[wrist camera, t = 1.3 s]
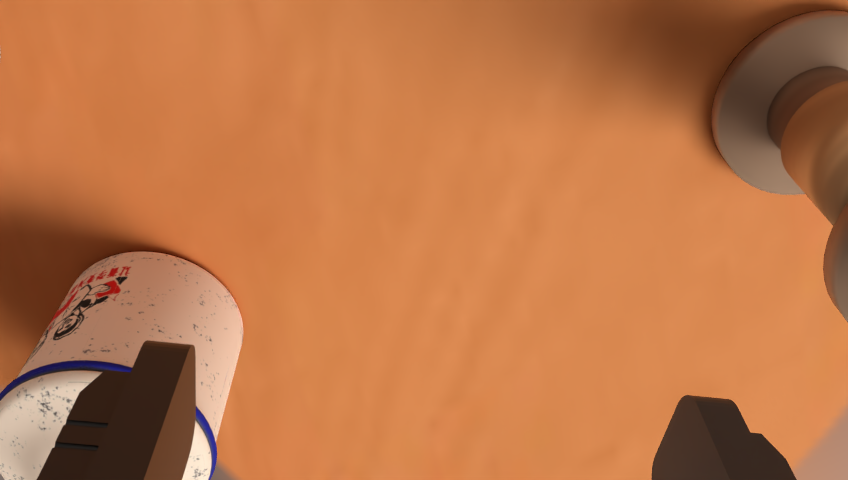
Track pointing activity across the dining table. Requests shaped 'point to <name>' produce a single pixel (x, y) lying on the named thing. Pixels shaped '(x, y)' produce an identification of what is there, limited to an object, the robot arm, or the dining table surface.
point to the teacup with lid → (122, 352)
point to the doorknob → (794, 123)
